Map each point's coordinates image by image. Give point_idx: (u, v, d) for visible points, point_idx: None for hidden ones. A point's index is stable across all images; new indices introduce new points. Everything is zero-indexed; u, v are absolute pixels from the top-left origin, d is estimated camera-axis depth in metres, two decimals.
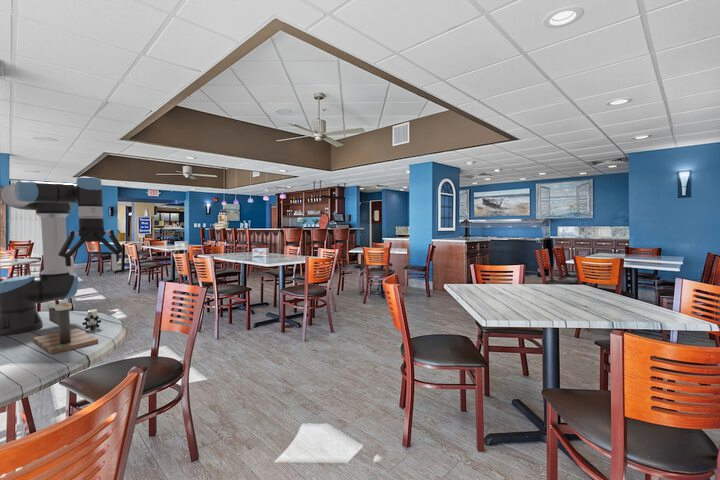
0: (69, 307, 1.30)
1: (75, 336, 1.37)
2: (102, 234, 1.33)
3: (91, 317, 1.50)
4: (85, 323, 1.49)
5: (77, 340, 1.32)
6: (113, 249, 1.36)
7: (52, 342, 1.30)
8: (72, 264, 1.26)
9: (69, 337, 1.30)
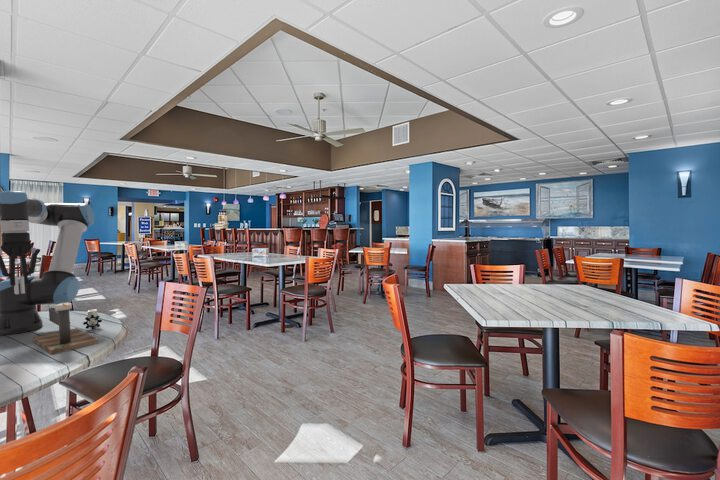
0: (69, 307, 1.30)
1: (75, 336, 1.37)
2: (26, 248, 1.31)
3: (92, 317, 1.50)
4: (86, 323, 1.49)
5: (77, 340, 1.32)
6: (24, 269, 1.30)
7: (52, 342, 1.30)
8: (16, 283, 1.29)
9: (69, 337, 1.30)
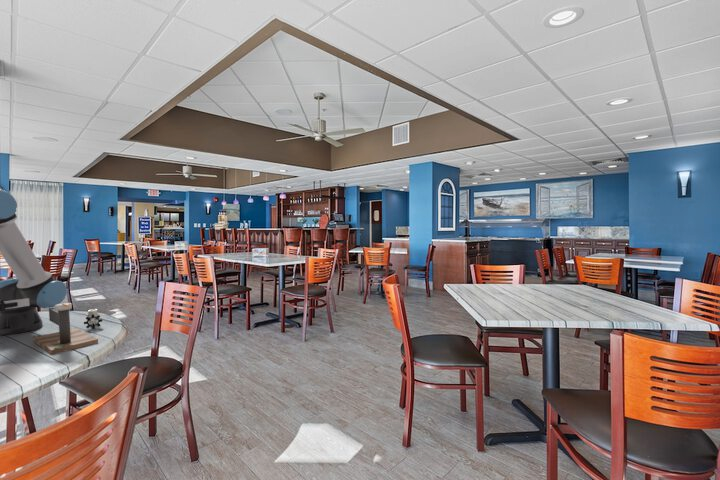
0: (69, 307, 1.30)
1: (75, 336, 1.37)
2: None
3: (92, 316, 1.51)
4: (86, 322, 1.50)
5: (77, 340, 1.32)
6: None
7: (52, 342, 1.30)
8: (14, 307, 1.27)
9: (69, 337, 1.30)
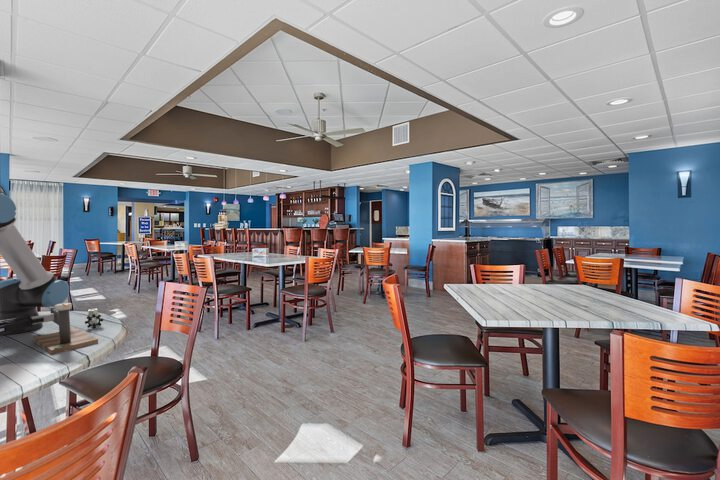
0: (69, 307, 1.29)
1: (75, 336, 1.37)
2: None
3: (93, 316, 1.52)
4: (87, 322, 1.51)
5: (77, 340, 1.32)
6: None
7: (52, 342, 1.30)
8: (40, 322, 1.32)
9: (69, 337, 1.30)
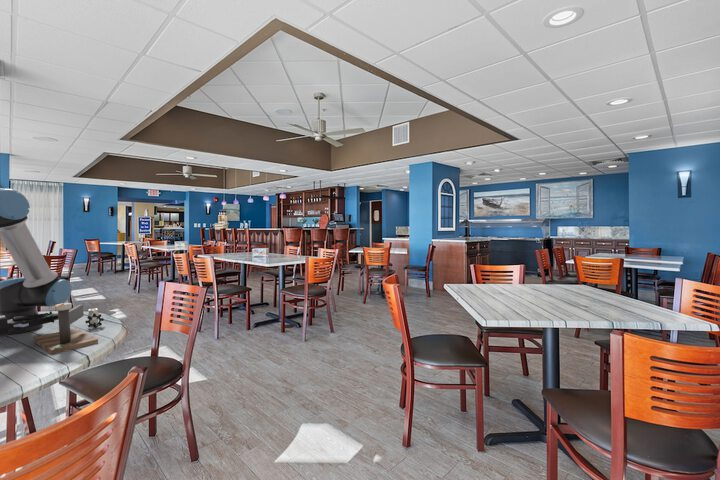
0: (65, 308, 1.28)
1: (75, 336, 1.37)
2: None
3: (94, 315, 1.52)
4: (88, 321, 1.51)
5: (77, 340, 1.32)
6: None
7: (52, 342, 1.30)
8: None
9: (66, 338, 1.30)
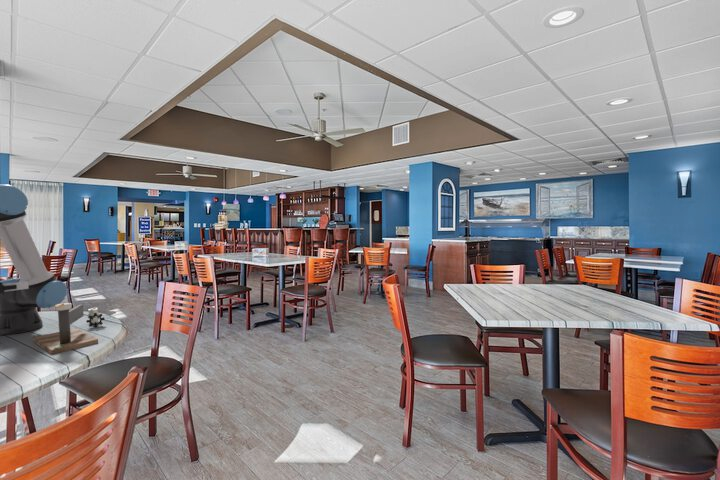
0: (65, 308, 1.28)
1: (75, 336, 1.37)
2: None
3: (95, 315, 1.53)
4: (89, 321, 1.52)
5: (77, 340, 1.32)
6: None
7: (52, 342, 1.30)
8: None
9: (66, 338, 1.30)
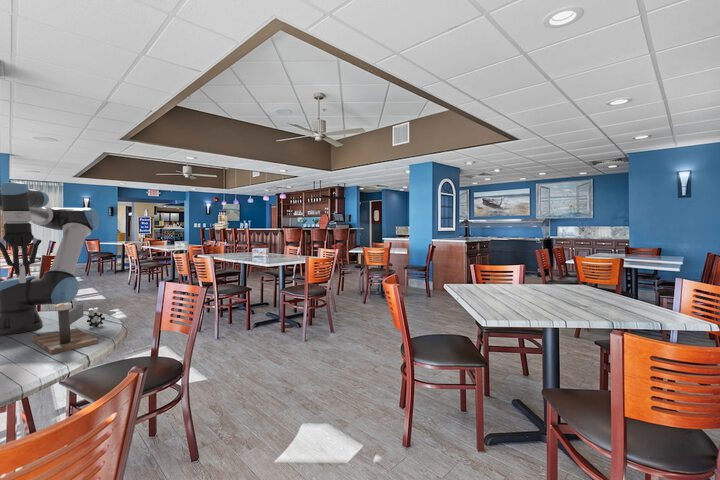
0: (65, 308, 1.28)
1: (75, 336, 1.37)
2: (28, 238, 1.34)
3: (95, 314, 1.54)
4: (89, 320, 1.53)
5: (77, 340, 1.32)
6: (25, 259, 1.33)
7: (52, 342, 1.30)
8: (21, 273, 1.32)
9: (66, 338, 1.30)
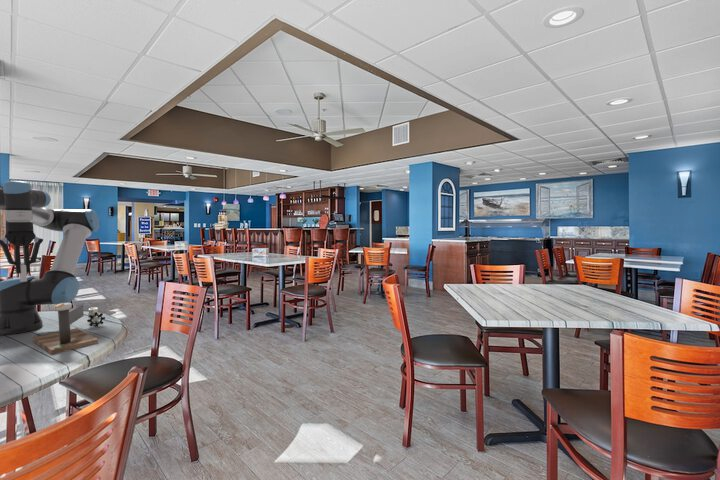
0: (65, 308, 1.28)
1: (75, 336, 1.37)
2: (30, 237, 1.35)
3: (95, 314, 1.54)
4: (90, 320, 1.53)
5: (77, 340, 1.32)
6: (27, 258, 1.34)
7: (52, 342, 1.30)
8: (22, 271, 1.33)
9: (66, 338, 1.30)
